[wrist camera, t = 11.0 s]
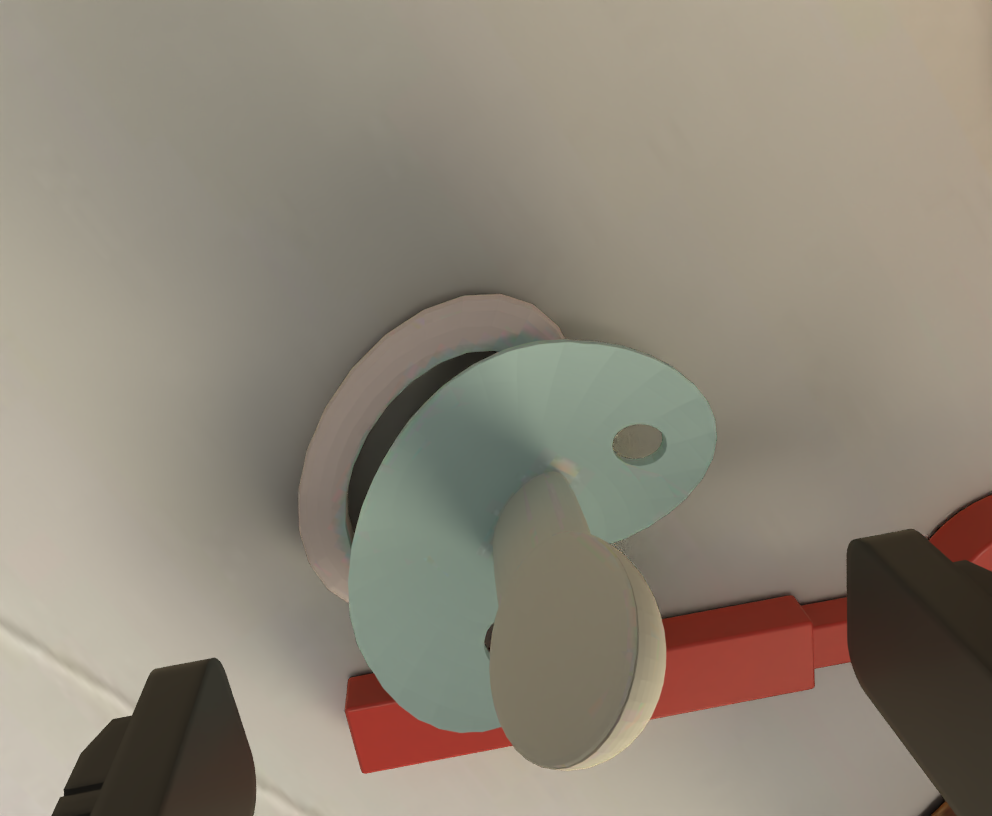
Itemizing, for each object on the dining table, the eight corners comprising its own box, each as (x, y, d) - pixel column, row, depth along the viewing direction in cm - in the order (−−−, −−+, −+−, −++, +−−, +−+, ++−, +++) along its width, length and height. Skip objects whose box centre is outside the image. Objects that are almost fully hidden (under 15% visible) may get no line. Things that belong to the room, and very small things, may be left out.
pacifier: (240, 557, 16) (517, 682, 18) (130, 818, 11) (557, 975, 12) (431, 209, 15) (726, 378, 16) (426, 290, 9) (896, 549, 10)
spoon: (378, 795, 19) (376, 842, 17) (329, 612, 17) (324, 650, 16) (1107, 657, 19) (1151, 693, 18) (1130, 464, 17) (1179, 491, 16)
